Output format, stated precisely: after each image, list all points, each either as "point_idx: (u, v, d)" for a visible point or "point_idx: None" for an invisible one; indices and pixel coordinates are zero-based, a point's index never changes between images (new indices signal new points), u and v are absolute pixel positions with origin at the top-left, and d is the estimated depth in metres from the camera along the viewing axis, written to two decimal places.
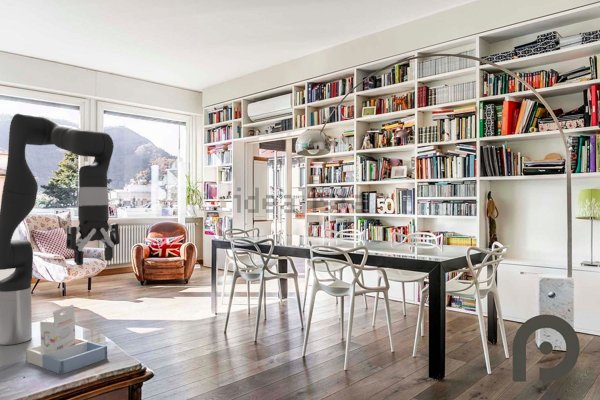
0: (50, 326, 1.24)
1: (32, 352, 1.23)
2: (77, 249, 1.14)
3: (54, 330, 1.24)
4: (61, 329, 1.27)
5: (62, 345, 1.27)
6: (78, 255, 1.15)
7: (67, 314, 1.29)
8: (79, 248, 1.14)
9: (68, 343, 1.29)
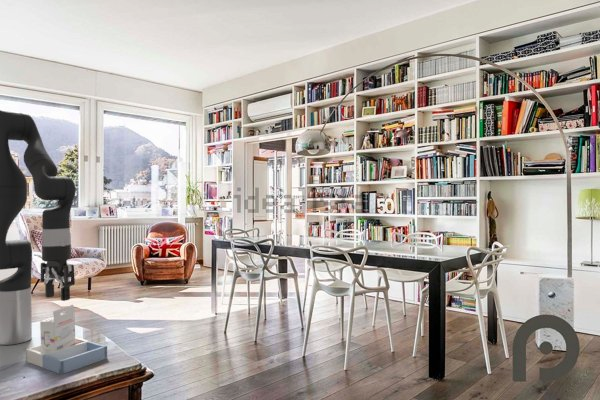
0: (50, 326, 1.24)
1: (32, 352, 1.23)
2: None
3: (54, 330, 1.24)
4: (61, 329, 1.27)
5: (62, 345, 1.27)
6: None
7: (67, 314, 1.29)
8: None
9: (68, 343, 1.29)
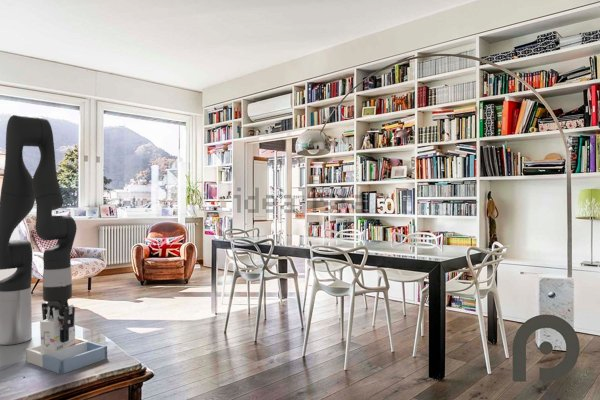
0: (50, 326, 1.24)
1: (32, 352, 1.23)
2: None
3: (54, 330, 1.24)
4: None
5: (62, 345, 1.27)
6: None
7: None
8: None
9: (68, 343, 1.29)
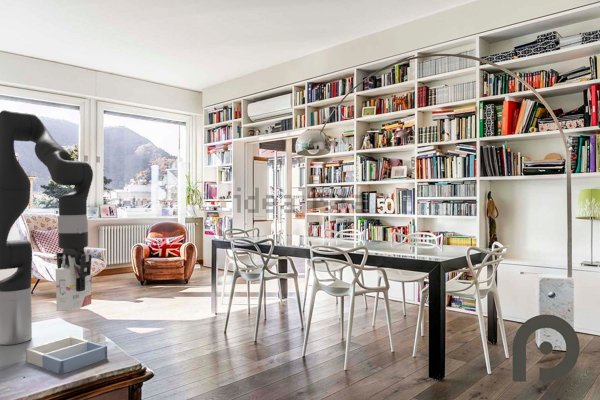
0: (66, 273, 1.19)
1: (32, 352, 1.23)
2: (85, 275, 1.22)
3: (70, 278, 1.19)
4: None
5: (78, 294, 1.22)
6: None
7: None
8: None
9: (84, 293, 1.24)
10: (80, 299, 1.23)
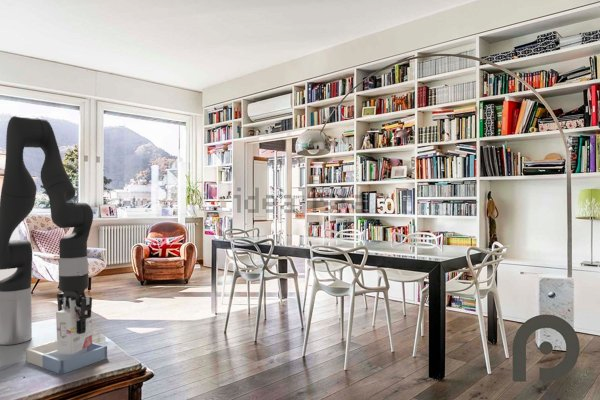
0: (66, 317, 1.19)
1: (32, 352, 1.23)
2: None
3: (71, 321, 1.19)
4: None
5: (78, 337, 1.22)
6: None
7: None
8: None
9: (84, 335, 1.24)
10: (81, 341, 1.23)
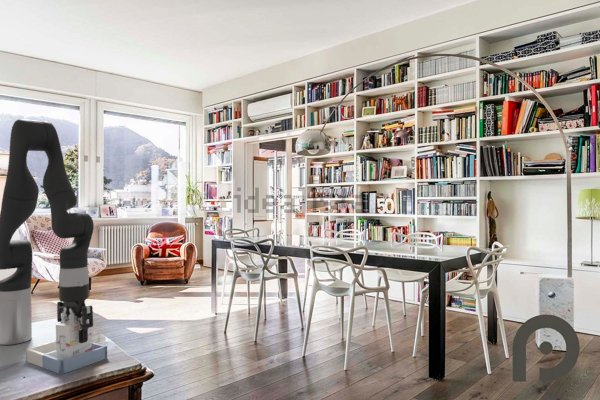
0: (66, 330, 1.19)
1: (32, 352, 1.23)
2: None
3: (70, 334, 1.19)
4: (77, 333, 1.22)
5: (78, 350, 1.22)
6: None
7: None
8: None
9: (84, 347, 1.24)
10: None
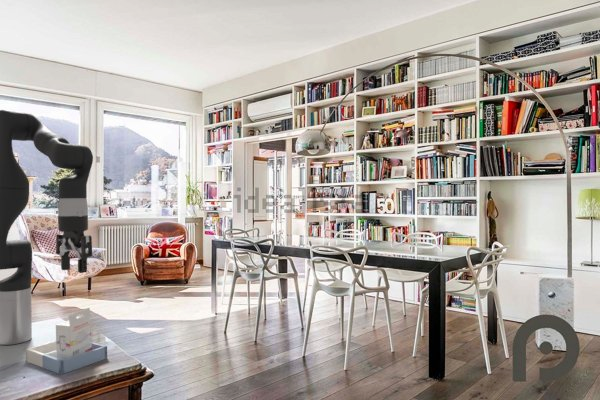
0: (66, 330, 1.19)
1: (32, 352, 1.23)
2: (87, 257, 1.22)
3: (70, 334, 1.19)
4: (77, 333, 1.22)
5: (78, 350, 1.22)
6: None
7: (83, 317, 1.24)
8: None
9: (84, 347, 1.24)
10: None
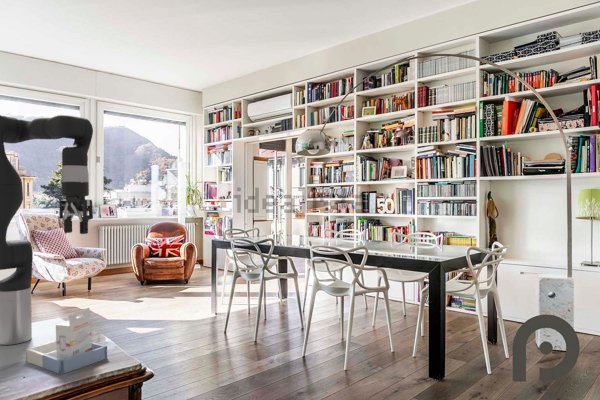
0: (66, 330, 1.19)
1: (32, 352, 1.23)
2: (88, 219, 1.32)
3: (70, 334, 1.19)
4: (77, 333, 1.22)
5: (78, 350, 1.22)
6: None
7: (83, 317, 1.24)
8: None
9: (84, 347, 1.24)
10: None
